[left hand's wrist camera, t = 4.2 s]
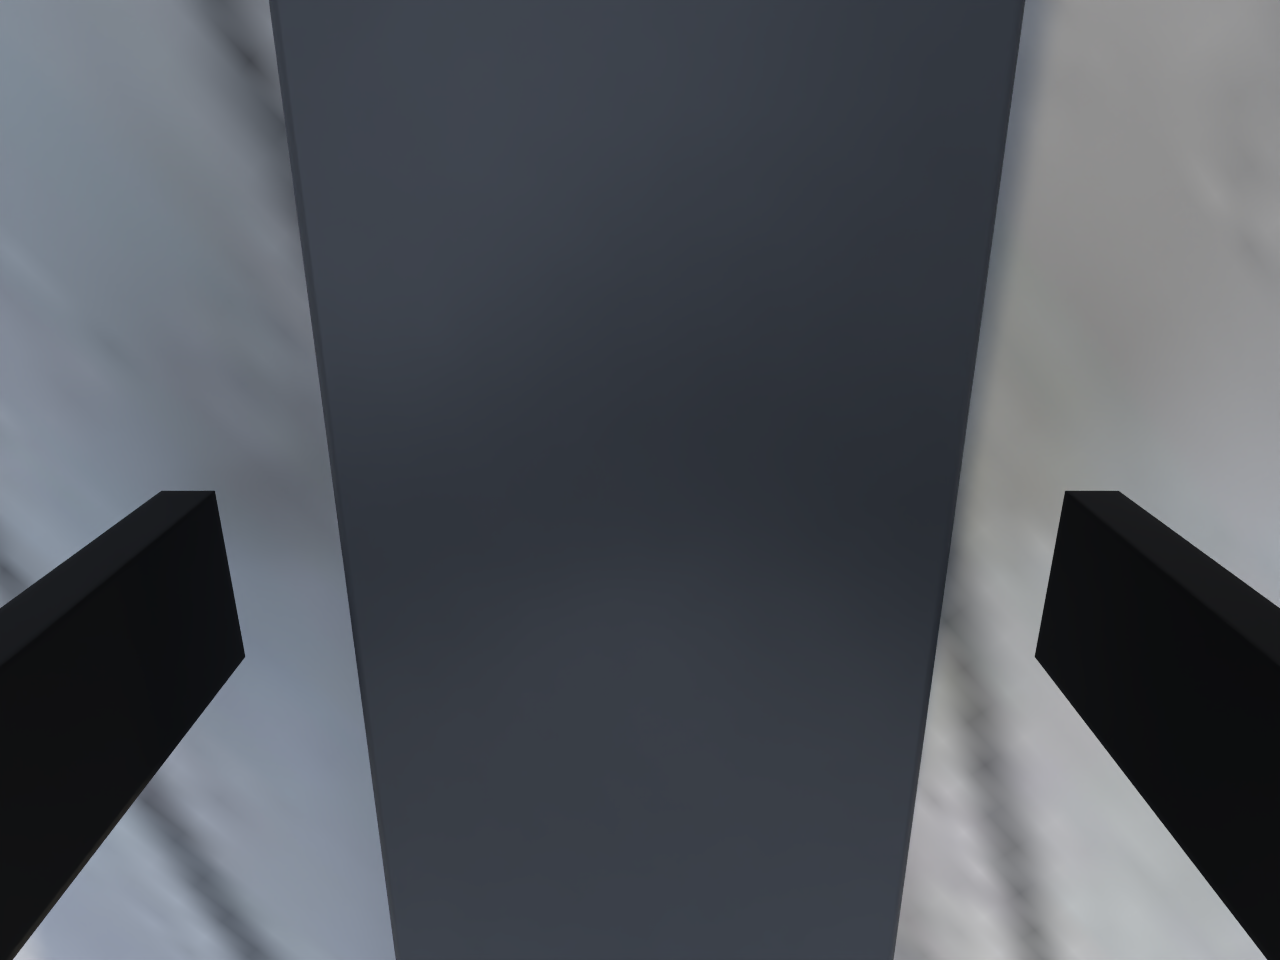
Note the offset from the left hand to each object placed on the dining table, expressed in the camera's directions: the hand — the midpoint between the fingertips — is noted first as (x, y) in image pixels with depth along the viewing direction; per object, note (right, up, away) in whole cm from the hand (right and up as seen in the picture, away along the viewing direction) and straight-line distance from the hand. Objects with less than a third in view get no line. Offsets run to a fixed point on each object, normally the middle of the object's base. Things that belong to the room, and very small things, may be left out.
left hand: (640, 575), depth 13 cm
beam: (0, -21, +11) cm, 24 cm away
